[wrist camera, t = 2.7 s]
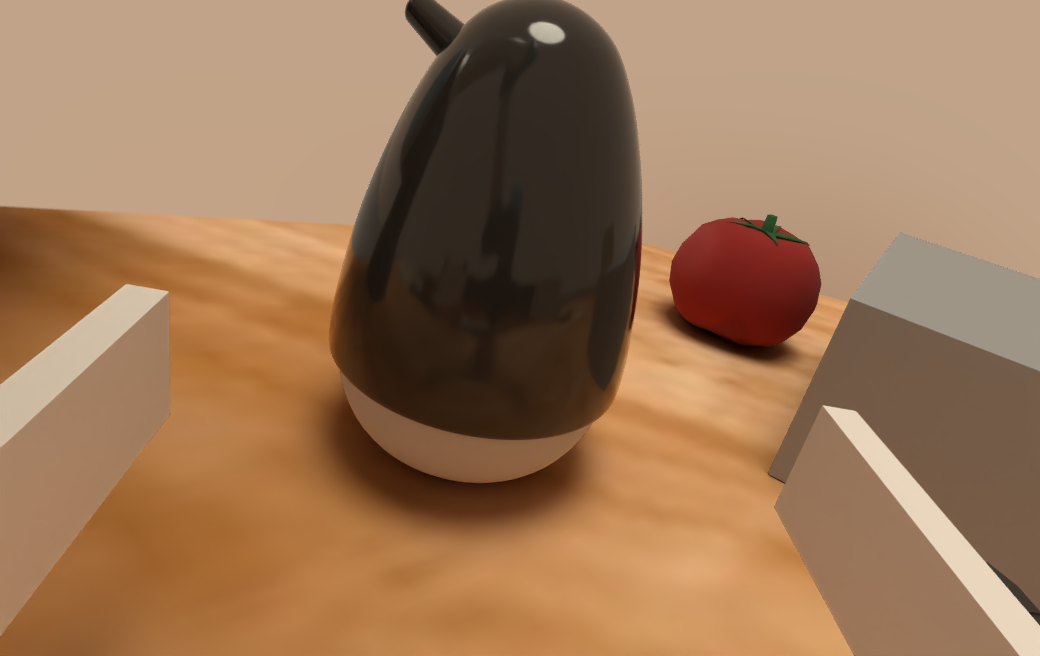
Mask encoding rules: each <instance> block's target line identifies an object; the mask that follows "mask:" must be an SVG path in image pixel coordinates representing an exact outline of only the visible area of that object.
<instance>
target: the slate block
mask: <svg viewBox="0 0 1040 656" xmlns="http://www.w3.org/2000/svg"><path fill="white" fill-rule="evenodd" d="M822 405H824V406H830V407H836V408H841V409H847V410H853V411H856V412H857V413H858V414H859V415H860V416H861V417H862V419H863V420H864V421H865V422H866V423H867V424H868V426H869V427H870V428H871V429H872V430H873V431H874V433H875V434H876V435H877V436H878V437H879V438H880V440H881V441H882V442H883V443H884V444H885V445H886V447H887V448H888V449H889V450H890V451H891V452H892V454H893V455H894V456H895V457H896V458H897V459H898V461H899V462H900V463H901V464H902V465H903V466H904V468H905V469H906V470H907V471H908V472H909V473H910V475H911V476H912V477H913V478H914V479H915V480H916V482H917V483H918V484H919V485H920V486H921V487H922V489H923V490H924V491H925V492H926V493H927V494H928V496H929V497H930V498H931V499H932V500H933V501H934V503H935V504H936V505H937V506H938V507H939V509H940V510H941V511H942V512H943V513H944V514H945V516H946V517H947V518H948V519H949V520H950V521H951V523H952V524H953V525H954V526H955V527H956V528H957V530H958V531H959V532H960V533H961V534H962V535H963V537H964V538H965V539H966V540H967V541H968V542H969V544H970V545H971V546H972V547H973V548H974V549H975V551H976V552H977V553H978V554H979V555H980V556H981V558H982V559H983V560H984V561H985V562H988V563H989V564H991V565H992V566H993V567H994V568H996V569H997V570H998V571H999V572H1001V573H1002V574H1003V575H1004V576H1006V577H1007V578H1008V579H1009V580H1011V581H1012V582H1013V583H1014V584H1016V585H1017V586H1018V587H1019V588H1020V589H1021V590H1022V591H1023V592H1024V594H1025V595H1026V596H1027V597H1028V598H1029V599H1030V600H1031V602H1032V603H1033V604H1034V605H1035V606H1036V607H1037V608H1038V610H1039V611H1040V279H1038V278H1035V277H1032V276H1029V275H1026V274H1023V273H1020V272H1017V271H1014V270H1011V269H1008V268H1005V267H1002V266H999V265H996V264H993V263H990V262H987V261H984V260H981V259H978V258H975V257H972V256H969V255H966V254H963V253H960V252H957V251H954V250H951V249H948V248H945V247H942V246H939V245H936V244H933V243H930V242H927V241H924V240H921V239H918V238H915V237H912V236H909V235H906V234H903V233H899V234H898V236H897V237H896V238H895V240H894V241H893V242H892V244H891V245H890V246H889V248H888V249H887V250H886V252H885V253H884V255H883V256H882V257H881V259H880V260H879V261H878V262H877V264H876V265H875V266H874V268H873V269H872V270H871V272H870V273H869V274H868V276H867V277H866V278H865V280H864V281H863V282H862V284H861V285H860V286H859V288H858V289H857V290H856V292H855V293H854V294H853V296H852V297H851V299H850V301H849V303H848V305H847V307H846V309H845V311H844V313H843V315H842V317H841V320H840V322H839V324H838V326H837V328H836V330H835V332H834V334H833V336H832V339H831V341H830V343H829V345H828V347H827V349H826V351H825V353H824V356H823V358H822V360H821V362H820V364H819V366H818V368H817V370H816V373H815V375H814V377H813V379H812V381H811V383H810V385H809V387H808V390H807V392H806V394H805V396H804V398H803V400H802V402H801V404H800V407H799V409H798V411H797V413H796V415H795V417H794V419H793V421H792V424H791V426H790V428H789V430H788V432H787V434H786V436H785V438H784V441H783V443H782V445H781V447H780V449H779V451H778V453H777V455H776V458H775V460H774V462H773V464H772V466H771V468H770V470H769V472H768V474H769V475H771V476H773V477H775V478H777V479H779V480H781V481H782V482H784V483H786V481H787V479H788V477H789V474H790V472H791V470H792V468H793V466H794V464H795V462H796V460H797V458H798V456H799V453H800V451H801V449H802V447H803V445H804V443H805V441H806V439H807V437H808V434H809V432H810V430H811V428H812V426H813V424H814V422H815V420H816V418H817V416H818V413H819V411H820V409H821V407H822Z"/></svg>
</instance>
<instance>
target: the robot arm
mask: <svg viewBox="0 0 1040 656" xmlns="http://www.w3.org/2000/svg"><path fill="white" fill-rule="evenodd" d="M169 415H170V309H169V291H163V290H158V289H152V288H146V287H140V286H135V285H129V284H126V285H124V286H123V287H122V288H121V289H119V290H118V291H117V292H116V293H114V294H113V295H112V296H111V297H109V298H108V299H107V300H106V301H104V302H103V303H102V304H101V305H99V306H98V307H97V308H96V309H94V310H93V311H92V312H91V313H89V314H88V315H87V316H86V317H84V318H83V319H82V320H81V321H79V322H78V323H77V324H76V325H74V326H73V327H72V328H70V329H69V330H68V331H67V332H65V333H64V334H63V335H62V336H60V337H59V338H58V339H57V340H55V341H54V342H53V343H52V344H50V345H49V346H48V347H47V348H45V349H44V350H43V351H42V352H40V353H39V354H38V355H37V356H35V357H34V358H33V359H32V360H30V361H29V362H28V363H27V364H25V365H24V366H23V367H22V368H20V369H19V370H18V371H17V372H15V373H14V374H13V375H12V376H10V377H9V378H8V379H7V380H5V381H4V382H3V383H2V384H0V636H1V635H2V634H3V632H4V631H5V630H6V628H7V627H8V626H9V624H10V623H11V622H12V620H13V619H14V618H15V617H16V615H17V614H18V613H19V611H20V610H21V609H22V607H23V606H24V605H25V603H26V602H27V601H28V600H29V598H30V597H31V596H32V594H33V593H34V592H35V590H36V589H37V588H38V586H39V585H40V584H41V583H42V581H43V580H44V579H45V577H46V576H47V575H48V573H49V572H50V571H51V569H52V568H53V567H54V566H55V564H56V563H57V562H58V560H59V559H60V558H61V556H62V555H63V554H64V553H65V551H66V550H67V549H68V547H69V546H70V545H71V543H72V542H73V541H74V539H75V538H76V537H77V536H78V534H79V533H80V532H81V530H82V529H83V528H84V526H85V525H86V524H87V522H88V521H89V520H90V519H91V517H92V516H93V515H94V513H95V512H96V511H97V509H98V508H99V507H100V505H101V504H102V503H103V502H104V500H105V499H106V498H107V496H108V495H109V494H110V492H111V491H112V490H113V488H114V487H115V486H116V485H117V483H118V482H119V481H120V479H121V478H122V477H123V475H124V474H125V473H126V472H127V470H128V469H129V468H130V466H131V465H132V464H133V462H134V461H135V460H136V458H137V457H138V456H139V455H140V453H141V452H142V451H143V449H144V448H145V447H146V445H147V444H148V443H149V441H150V440H151V439H152V438H153V436H154V435H155V434H156V432H157V431H158V430H159V428H160V427H161V426H162V424H163V423H164V422H165V421H166V419H167V418H168V417H169ZM774 508H775V510H776V512H777V513H778V515H779V517H780V519H781V521H782V523H783V525H784V526H785V528H786V530H787V532H788V534H789V536H790V538H791V539H792V541H793V543H794V545H795V547H796V549H797V551H798V552H799V554H800V556H801V558H802V560H803V562H804V563H805V565H806V567H807V569H808V571H809V573H810V575H811V576H812V578H813V580H814V582H815V584H816V586H817V588H818V589H819V591H820V593H821V595H822V597H823V599H824V601H825V602H826V604H827V606H828V608H829V610H830V612H831V614H832V615H833V617H834V619H835V621H836V623H837V625H838V627H839V628H840V630H841V632H842V634H843V636H844V638H845V640H846V641H847V643H848V645H849V647H850V649H851V651H852V653H853V654H854V656H1040V611H1039V610H1038V608H1037V607H1036V606H1035V605H1034V604H1033V603H1032V602H1031V600H1030V599H1029V598H1028V597H1027V596H1026V595H1025V594H1024V592H1023V591H1022V590H1021V589H1020V588H1019V587H1018V586H1017V585H1016V584H1014V583H1013V582H1012V581H1011V580H1009V579H1008V578H1007V577H1006V576H1004V575H1003V574H1002V573H1001V572H999V571H998V570H997V569H996V568H994V567H993V566H992V565H991V564H989V563H988V562H985V561H984V560H983V559H982V558H981V556H980V555H979V554H978V553H977V552H976V551H975V549H974V548H973V547H972V546H971V545H970V544H969V542H968V541H967V540H966V539H965V538H964V537H963V535H962V534H961V533H960V532H959V531H958V530H957V528H956V527H955V526H954V525H953V524H952V523H951V521H950V520H949V519H948V518H947V517H946V516H945V514H944V513H943V512H942V511H941V510H940V509H939V507H938V506H937V505H936V504H935V503H934V501H933V500H932V499H931V498H930V497H929V496H928V494H927V493H926V492H925V491H924V490H923V489H922V487H921V486H920V485H919V484H918V483H917V482H916V480H915V479H914V478H913V477H912V476H911V475H910V473H909V472H908V471H907V470H906V469H905V468H904V466H903V465H902V464H901V463H900V462H899V461H898V459H897V458H896V457H895V456H894V455H893V454H892V452H891V451H890V450H889V449H888V448H887V447H886V445H885V444H884V443H883V442H882V441H881V440H880V438H879V437H878V436H877V435H876V434H875V433H874V431H873V430H872V429H871V428H870V427H869V426H868V424H867V423H866V422H865V421H864V420H863V419H862V417H861V416H860V415H859V414H858V413H857V412H856V411H853V410H847V409H841V408H836V407H830V406H824V405H822V407H821V409H820V411H819V413H818V416H817V418H816V420H815V422H814V424H813V426H812V428H811V430H810V432H809V434H808V437H807V439H806V441H805V443H804V445H803V447H802V449H801V451H800V453H799V456H798V458H797V460H796V462H795V464H794V466H793V468H792V470H791V472H790V474H789V477H788V479H787V481H786V483H785V485H784V487H783V489H782V491H781V493H780V495H779V498H778V500H777V502H776V504H775V506H774Z"/></svg>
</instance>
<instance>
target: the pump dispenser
mask: <svg viewBox="0 0 1040 656" xmlns="http://www.w3.org/2000/svg"><path fill="white" fill-rule="evenodd" d="M405 16H406V19H407V21H408V22H409V23H410V25H411V26H412V27H413V28H414V30H415V31H416V32H417V33H418V34H419V35H420V37H421V38H422V39H423V40H424V41H425V43H426V44H427V45H428V46H429V47H430V49H431V50H432V51H433V52H434V53H435V55H436V56H437V57H436V58H435V60H434V61H433V63H432V64H431V65H430V67H429V68H428V70H427V72H426V73H425V75H424V76H423V78H422V80H421V81H420V83H419V85H418V86H417V88H416V90H415V92H414V93H413V95H412V97H411V98H410V100H409V102H408V104H407V106H406V107H405V109H404V111H403V113H402V115H401V117H400V119H399V121H398V123H397V125H396V127H395V129H394V131H393V133H392V135H391V137H390V139H389V141H388V143H387V145H386V147H385V150H384V152H383V154H382V156H381V158H380V161H379V163H378V165H377V167H376V170H375V172H374V174H373V177H372V179H371V182H370V184H369V187H368V189H367V191H366V194H365V197H364V199H363V202H362V205H361V207H360V210H359V213H358V216H357V219H356V222H355V225H354V228H353V231H352V234H351V238H350V241H349V244H348V248H347V251H346V255H345V258H344V262H343V266H342V269H341V273H340V277H339V281H338V285H337V289H336V293H335V297H334V302H333V307H332V313H331V321H330V330H329V345H330V350H331V354H332V357H333V359H334V361H335V363H336V365H337V366H338V368H339V369H340V376H341V380H342V384H343V388H344V391H345V394H346V397H347V400H348V402H349V404H350V406H351V408H352V410H353V412H354V414H355V416H356V418H357V419H358V421H359V422H360V424H361V425H362V427H363V428H364V429H365V431H366V432H367V433H368V434H369V435H370V436H371V438H372V439H373V440H374V441H375V442H376V443H377V444H378V445H379V446H381V447H382V448H383V449H384V450H385V451H387V452H388V453H389V454H390V455H392V456H393V457H395V458H396V459H398V460H400V461H401V462H403V463H405V464H407V465H408V466H410V467H412V468H415V469H417V470H419V471H421V472H424V473H427V474H429V475H433V476H436V477H439V478H444V479H448V480H453V481H459V482H469V483H492V482H501V481H507V480H512V479H516V478H520V477H523V476H526V475H529V474H532V473H534V472H536V471H538V470H540V469H542V468H545V467H547V466H548V465H550V464H551V463H553V462H555V461H556V460H558V459H559V458H560V457H562V456H563V455H564V454H565V453H567V452H568V451H569V450H570V449H571V448H572V447H573V446H574V445H575V444H576V443H577V442H578V441H579V440H580V439H581V437H582V436H583V435H584V434H585V433H586V431H587V430H588V429H589V427H590V426H591V424H592V423H593V422H594V421H596V420H597V419H598V418H600V417H601V416H602V415H603V414H604V413H605V412H606V411H607V410H608V409H609V407H610V406H611V404H612V403H613V401H614V399H615V396H616V394H617V391H618V388H619V385H620V382H621V379H622V375H623V372H624V368H625V364H626V360H627V355H628V350H629V344H630V339H631V333H632V327H633V321H634V315H635V308H636V302H637V294H638V286H639V277H640V266H641V250H642V180H641V162H640V150H639V139H638V131H637V122H636V116H635V109H634V104H633V99H632V94H631V90H630V86H629V82H628V78H627V74H626V71H625V68H624V64H623V62H622V59H621V56H620V54H619V51H618V49H617V48H616V46H615V44H614V42H613V41H612V39H611V38H610V36H609V35H608V34H607V32H606V31H605V30H604V29H603V28H602V27H601V26H600V25H599V23H597V22H596V21H595V20H594V19H593V18H592V17H591V16H590V15H588V14H587V13H586V12H584V11H582V10H581V9H580V8H578V7H576V6H574V5H572V4H570V3H568V2H566V1H563V0H502V1H500V2H497V3H495V4H492V5H490V6H488V7H486V8H485V9H483V10H481V11H480V12H478V13H477V14H476V15H475V16H473V17H472V18H471V19H470V20H469V21H468V22H467V23H466V24H463V23H462V22H461V21H460V20H459V19H457V18H456V17H455V16H453V15H452V14H451V13H450V12H449V11H447V10H446V9H445V8H444V7H443V6H441V5H440V4H439V3H437V2H436V1H435V0H409V1H408V3H407V5H406V9H405Z"/></svg>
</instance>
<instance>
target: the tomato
mask: <svg viewBox="0 0 1040 656" xmlns="http://www.w3.org/2000/svg"><path fill="white" fill-rule="evenodd" d="M743 219H744V220H743ZM776 221H777V216H774V215H768V216H767V218H766V220H765V221H761V220H746V219H745V218H740V219H738V218H727V219H719V220H715V221H712V222H708V223H705V224H703V225H701V227H699V228H698V229H697V230H696V231H695V232H694V233H693V234H692V235H691V236H690V237H689V238H688V239H686V240H685V241H684V242H683V243H682V245H681V246H680V248H679V250H678V251H677V253H676V255H675V257H674V258H673V260H672V265H671V272H670V280H669V281H670V286H671V290H672V295H673V299H674V304H675V308H676V309H677V310H678V311H679V312H680V314H681V315H682V316H683V317H684V318H685V319H686V320H687V321H689V322H690V323H691V324H693V325H694V326H696V327H699V328H702V329H705V330H708V331H711V332H713V333H715V334H717V335H719V336H720V337H722V338H724V339H726V340H729V341H731V342H734V343H736V344H739V345H746V346H772V347H773V346H775V345H777V344H779V343H781V342H783V341H785V340H787V339H788V338H789V337H791V336H792V335H794V334H795V333H797V332H798V331H800V330H801V329H802V327H803V326H804V324H805V323H806V322H807V320H808V319H809V317H810V316H811V314H812V313H813V311H814V310H815V307H816V305H817V301H818V297H819V292H820V288H821V279H820V272H819V267H818V264H817V262H816V260H815V258H814V256H813V254H812V252H811V250H810V248H809V246H808V245H809V244H808V243H807V242H805V241H802V240H800V239H798V238H797V237H795V236H794V235H793V234H791V233H789V232H787V231H785V230H784V229H782V228H781V227H780V226H776V225H775V224H776Z"/></svg>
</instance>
